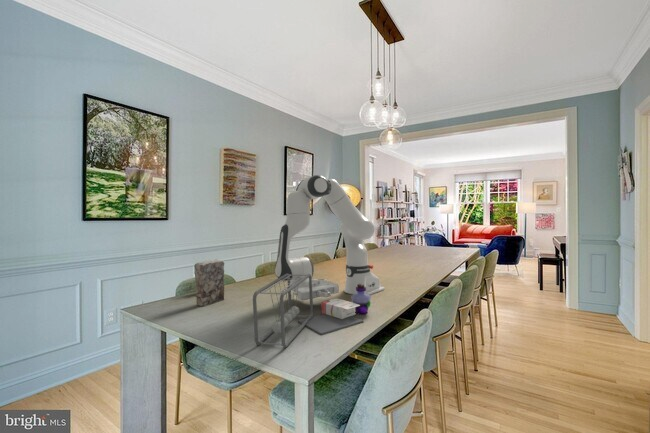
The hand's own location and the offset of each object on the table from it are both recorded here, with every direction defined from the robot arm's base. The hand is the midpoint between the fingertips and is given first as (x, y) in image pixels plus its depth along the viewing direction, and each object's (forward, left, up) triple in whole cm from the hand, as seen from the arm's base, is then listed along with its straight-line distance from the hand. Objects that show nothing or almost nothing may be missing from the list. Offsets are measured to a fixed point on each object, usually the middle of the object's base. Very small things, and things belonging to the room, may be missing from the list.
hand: (328, 294), depth 131 cm
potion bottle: (-11, +9, -8) cm, 16 cm away
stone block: (+36, -47, -8) cm, 60 cm away
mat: (+6, +10, -8) cm, 14 cm away
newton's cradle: (+24, +7, -7) cm, 26 cm away
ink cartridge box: (0, 0, -5) cm, 5 cm away
